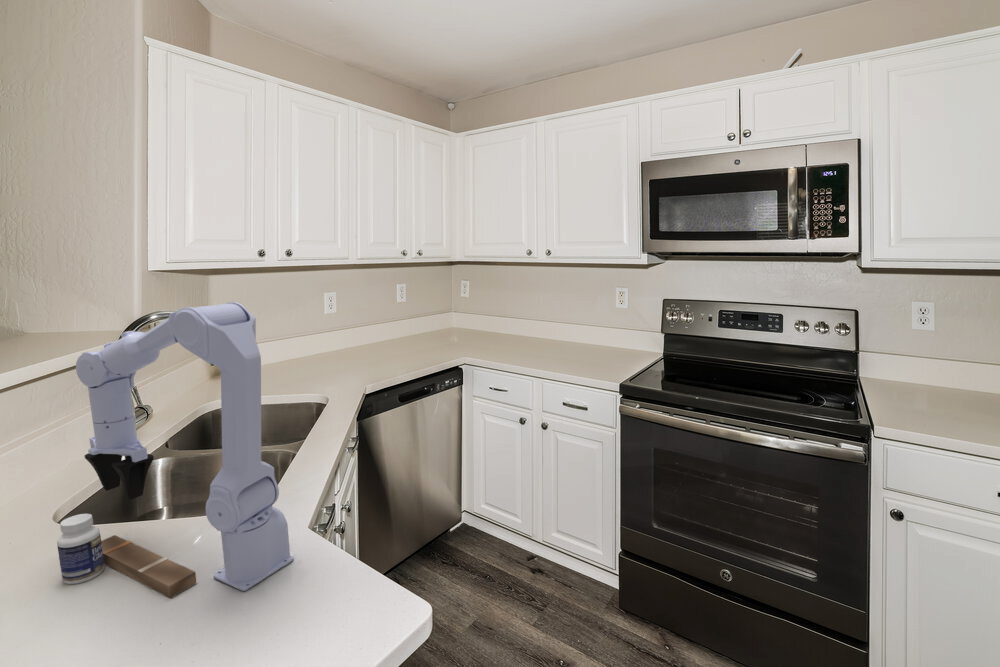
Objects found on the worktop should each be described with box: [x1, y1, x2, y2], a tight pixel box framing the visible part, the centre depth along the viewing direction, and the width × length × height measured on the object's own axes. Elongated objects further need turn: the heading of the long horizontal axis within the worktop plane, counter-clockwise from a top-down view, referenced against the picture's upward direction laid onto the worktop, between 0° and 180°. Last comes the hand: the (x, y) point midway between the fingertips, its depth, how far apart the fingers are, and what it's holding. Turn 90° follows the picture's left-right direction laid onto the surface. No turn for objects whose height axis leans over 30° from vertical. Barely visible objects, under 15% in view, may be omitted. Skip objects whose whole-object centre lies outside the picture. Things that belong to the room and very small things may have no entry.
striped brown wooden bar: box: [101, 535, 198, 599], centre depth 84 cm, size 4×24×2 cm, turn 62°
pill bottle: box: [56, 513, 105, 585], centre depth 82 cm, size 5×5×10 cm
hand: (123, 492), depth 89 cm, fingers open, 7 cm apart
